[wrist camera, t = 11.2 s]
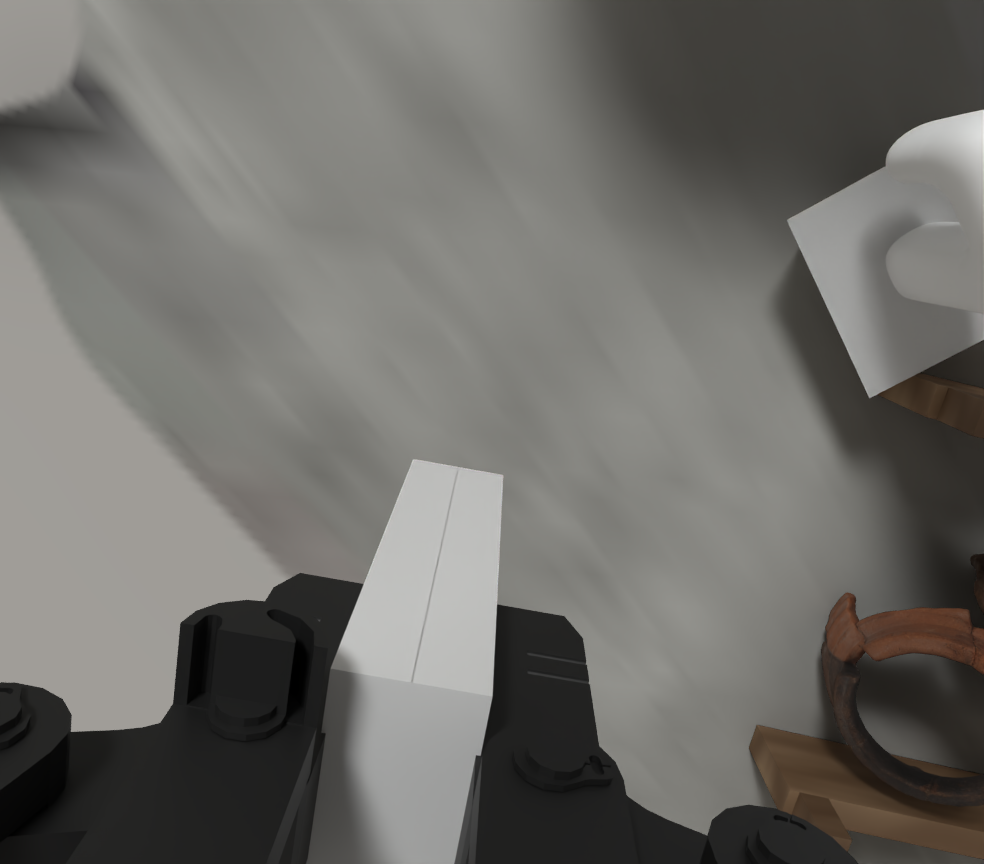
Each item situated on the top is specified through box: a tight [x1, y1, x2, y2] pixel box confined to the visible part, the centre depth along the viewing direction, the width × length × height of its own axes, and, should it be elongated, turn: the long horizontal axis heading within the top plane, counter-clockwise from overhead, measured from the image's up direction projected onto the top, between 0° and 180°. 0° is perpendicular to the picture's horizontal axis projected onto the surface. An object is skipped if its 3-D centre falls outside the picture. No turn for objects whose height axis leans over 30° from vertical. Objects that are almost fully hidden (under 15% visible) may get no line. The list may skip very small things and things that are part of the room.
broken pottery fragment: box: [821, 554, 984, 807], centre depth 35 cm, size 12×10×8 cm
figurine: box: [787, 110, 984, 398], centre depth 27 cm, size 7×9×15 cm
